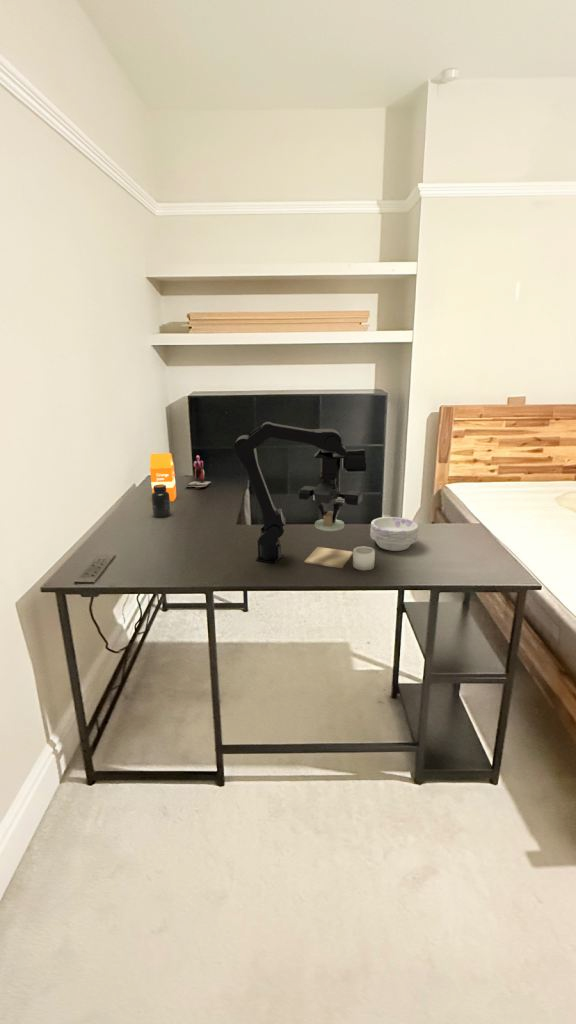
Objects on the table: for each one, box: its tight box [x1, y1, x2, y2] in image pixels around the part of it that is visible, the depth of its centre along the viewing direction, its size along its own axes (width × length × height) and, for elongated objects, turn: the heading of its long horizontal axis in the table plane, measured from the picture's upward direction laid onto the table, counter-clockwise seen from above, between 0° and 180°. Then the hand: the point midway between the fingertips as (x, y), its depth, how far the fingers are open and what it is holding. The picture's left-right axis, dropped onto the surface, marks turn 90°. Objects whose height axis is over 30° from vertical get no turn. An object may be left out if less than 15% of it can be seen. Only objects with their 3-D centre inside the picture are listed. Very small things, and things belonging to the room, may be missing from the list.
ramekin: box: [352, 545, 376, 571], centre depth 158 cm, size 6×6×5 cm
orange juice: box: [149, 452, 177, 502], centre depth 224 cm, size 8×9×20 cm
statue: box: [185, 455, 211, 490], centre depth 244 cm, size 11×9×15 cm
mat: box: [304, 546, 353, 569], centre depth 164 cm, size 12×12×1 cm
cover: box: [314, 510, 345, 532], centre depth 160 cm, size 9×9×4 cm
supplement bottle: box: [151, 484, 172, 519], centre depth 205 cm, size 7×7×12 cm
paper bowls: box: [369, 516, 419, 552], centre depth 172 cm, size 15×15×8 cm
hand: (329, 522), depth 161 cm, fingers closed on cover, 2 cm apart
